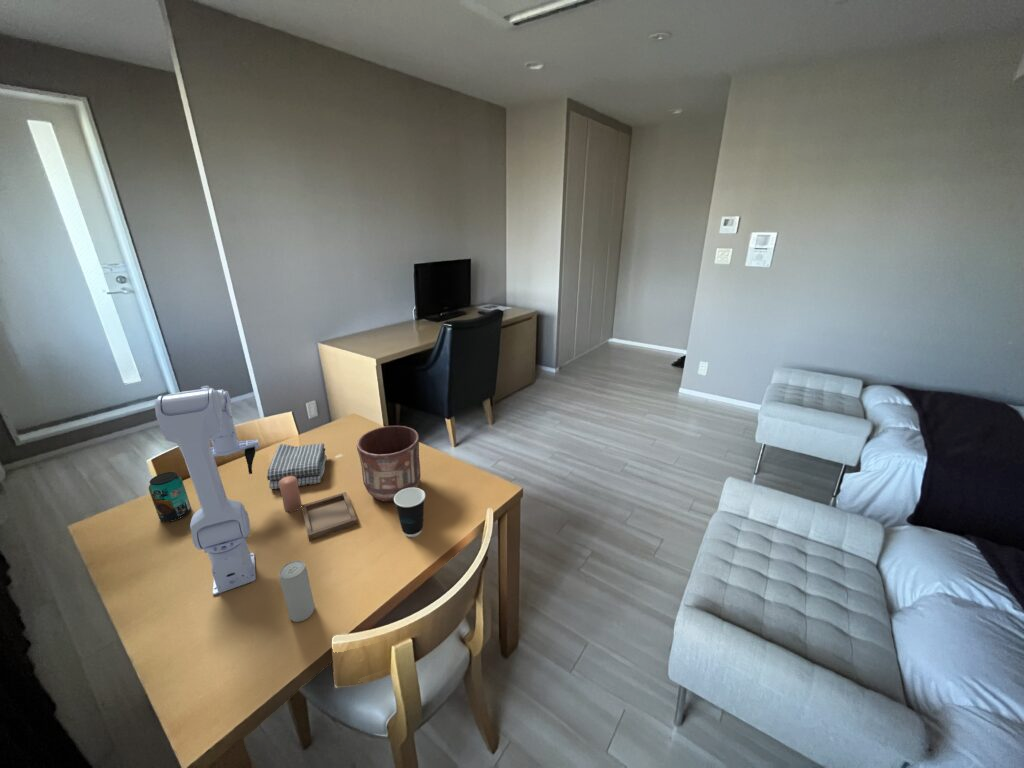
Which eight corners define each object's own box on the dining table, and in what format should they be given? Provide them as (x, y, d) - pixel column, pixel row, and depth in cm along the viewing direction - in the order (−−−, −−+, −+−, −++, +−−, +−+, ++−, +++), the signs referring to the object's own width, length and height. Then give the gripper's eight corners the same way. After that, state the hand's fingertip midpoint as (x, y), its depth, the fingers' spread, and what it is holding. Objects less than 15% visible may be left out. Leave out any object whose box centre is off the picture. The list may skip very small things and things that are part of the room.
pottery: (355, 486, 126) (348, 435, 120) (408, 467, 136) (404, 419, 130) (375, 517, 113) (368, 462, 107) (432, 494, 123) (429, 443, 116)
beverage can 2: (284, 615, 84) (273, 571, 80) (307, 599, 88) (297, 556, 84) (297, 627, 82) (287, 582, 77) (320, 610, 86) (310, 566, 81)
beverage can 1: (154, 517, 111) (141, 480, 107) (183, 503, 117) (171, 468, 113) (168, 526, 108) (154, 488, 104) (196, 511, 114) (185, 475, 110)
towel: (268, 494, 122) (263, 471, 120) (279, 462, 139) (275, 442, 136) (323, 485, 127) (319, 463, 124) (327, 455, 143) (324, 436, 140)
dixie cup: (422, 517, 113) (420, 484, 109) (431, 534, 107) (429, 500, 103) (394, 526, 110) (390, 492, 106) (401, 545, 103) (398, 510, 99)
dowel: (302, 508, 116) (297, 482, 113) (285, 514, 114) (279, 487, 110) (300, 500, 119) (295, 474, 116) (284, 505, 117) (278, 478, 114)
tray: (357, 524, 110) (356, 519, 110) (309, 540, 104) (308, 535, 104) (346, 497, 121) (345, 491, 121) (302, 510, 115) (301, 505, 115)
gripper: (253, 421, 115) (263, 462, 120) (190, 433, 108) (203, 477, 112) (254, 431, 109) (265, 473, 114) (187, 444, 102) (201, 490, 107)
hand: (234, 476), depth 113 cm, fingers open, 7 cm apart
